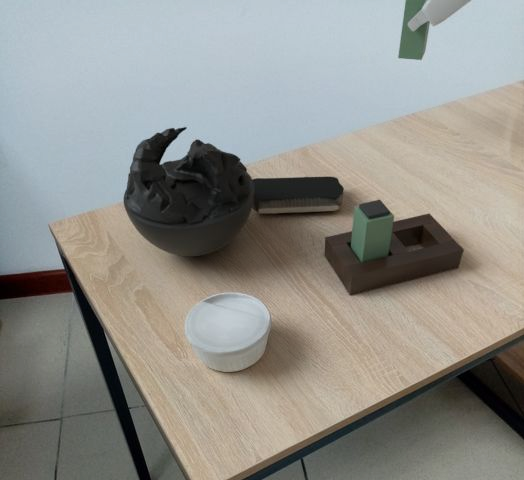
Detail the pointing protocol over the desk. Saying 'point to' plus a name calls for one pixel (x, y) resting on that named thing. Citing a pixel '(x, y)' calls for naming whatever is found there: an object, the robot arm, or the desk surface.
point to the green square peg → (371, 231)
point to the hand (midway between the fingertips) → (413, 22)
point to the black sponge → (297, 194)
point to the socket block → (395, 255)
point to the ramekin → (228, 330)
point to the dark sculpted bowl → (187, 196)
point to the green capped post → (413, 33)
